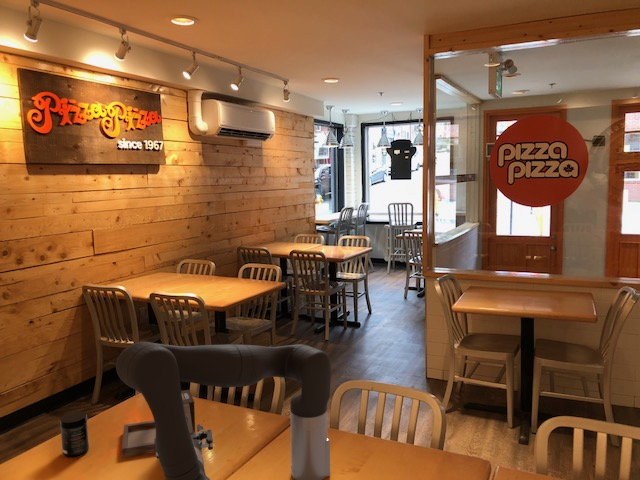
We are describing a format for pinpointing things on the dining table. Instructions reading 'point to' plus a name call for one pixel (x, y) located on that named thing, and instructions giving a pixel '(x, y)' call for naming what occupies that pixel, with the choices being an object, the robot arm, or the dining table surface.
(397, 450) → the dining table surface
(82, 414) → the supplement container
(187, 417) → the coffee box
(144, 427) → the tray
